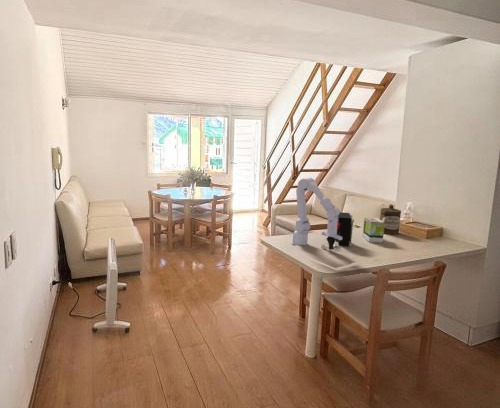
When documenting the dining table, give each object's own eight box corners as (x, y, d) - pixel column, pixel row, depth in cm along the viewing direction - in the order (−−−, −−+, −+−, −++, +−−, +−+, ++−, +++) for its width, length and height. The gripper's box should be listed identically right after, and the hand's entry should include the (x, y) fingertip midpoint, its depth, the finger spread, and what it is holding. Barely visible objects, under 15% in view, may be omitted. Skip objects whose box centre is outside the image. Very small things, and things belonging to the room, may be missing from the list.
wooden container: (381, 234, 264) (385, 206, 261) (375, 229, 279) (378, 202, 275) (401, 235, 264) (405, 207, 260) (394, 230, 279) (397, 203, 275)
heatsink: (317, 249, 219) (317, 245, 219) (331, 246, 227) (331, 242, 226) (330, 254, 211) (331, 250, 210) (344, 251, 218) (345, 246, 218)
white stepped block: (324, 249, 216) (324, 244, 216) (327, 248, 218) (327, 244, 217) (328, 251, 213) (328, 246, 213) (331, 250, 215) (331, 245, 214)
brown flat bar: (322, 248, 218) (322, 246, 217) (333, 246, 224) (333, 244, 224) (326, 250, 215) (326, 248, 215) (337, 247, 221) (337, 245, 221)
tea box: (383, 242, 242) (385, 222, 239) (368, 242, 242) (370, 221, 239) (375, 237, 256) (377, 217, 254) (362, 236, 256) (364, 216, 254)
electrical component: (351, 248, 225) (354, 218, 221) (335, 247, 227) (338, 217, 223) (349, 241, 242) (352, 213, 238) (334, 240, 244) (337, 212, 240)
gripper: (318, 225, 215) (317, 246, 217) (337, 230, 203) (335, 252, 206) (326, 224, 219) (325, 245, 221) (345, 229, 208) (343, 251, 210)
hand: (330, 248), depth 214 cm, fingers closed, pressing on white stepped block
